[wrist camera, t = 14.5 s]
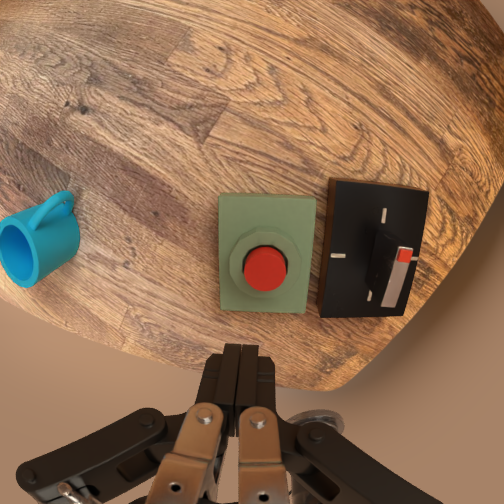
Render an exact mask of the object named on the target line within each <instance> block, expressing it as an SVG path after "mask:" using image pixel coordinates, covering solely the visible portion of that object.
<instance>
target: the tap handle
mask: <svg viewBox="0 0 504 504" xmlns="http://www.w3.org/2000/svg"><path fill="white" fill-rule="evenodd" d="M412 253H413V248H412V247H410V246H409V245H408V244H407V243H405V242H404V241H403V240H401V239H400V238H398V237H397V236H396V235H394V234H393V233H392V232H390V231H385V230H379V229H378V230H377V233H376V238H375V242H374V246H373V250H372V254H371V258H370V262H369V266H368V270H367V274H366V277H365V281H364V282H365V283H366V285H367V286H368V288H369V289H370V291H371V292H372V294H373V295H374V297H375V298H376V300H377V301H378V303H379V304H380V306H381V307H395V306H396V303H397V300H398V297H399V295H400V292H401V289H402V286H403V282H404V279H405V276H406V273H407V270H408V266H409V263H410V260H411V257H412Z"/></svg>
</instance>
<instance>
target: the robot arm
mask: <svg viewBox="0 0 504 504" xmlns="http://www.w3.org/2000/svg"><path fill="white" fill-rule="evenodd" d="M258 348H259V345H245V344H243V345H241V344H228V343H225V346H224V351H223V354H214V353H213V354H212V355H211V356H210V357H209V358H208V359H207V360H206V364H205V367H204V371H203V375H202V379H201V382H200V386H199V390H198V394H197V398H196V401H195V404H194V405H193V406H192V407H190V408H189V409H188V411H187V412H185V413H183V414H179V415H171V416H164V415H163V414H162V413H161V412H160V411H158V410H157V409H154V408H142V409H139V410H137V411H135V412H133V413H131V414H129V415H128V416H126V417H124V418H122V419H120V420H118V421H116V422H114V423H112V424H110V425H108V426H106V427H104V428H102V429H100V430H98V431H96V432H94V433H92V434H90V435H88V436H85V437H83V438H82V439H79V440H77V441H75V442H72V443H70V444H68V445H66V446H64V447H61V448H59V449H57V450H54V451H52V452H50V453H47V454H45V455H42V456H40V457H37V458H35V459H32V460H30V461H27V462H24V463H23V464H21V465H20V466H19V467H18V469H17V471H16V480H17V483H18V484H19V486H20V487H21V488H22V489H23V490H24V491H26V492H27V493H28V494H30V495H31V496H32V497H33V498H34V499H35V500H36V501H37V502H38V504H103V503H105V502H107V501H109V500H111V499H113V498H115V497H117V496H119V495H121V494H123V493H125V492H127V491H128V490H130V489H132V488H134V487H136V486H138V485H139V484H141V483H143V482H145V481H146V480H148V479H150V478H151V477H153V476H155V475H156V476H155V479H154V481H153V484H152V486H151V489H150V491H149V494H148V495H147V496H144V497H141V498H138V499H136V500H134V501H132V502H131V503H129V504H220V503H216V500H217V492H218V485H219V480H220V476H221V471H222V468H223V464H224V459H225V455H226V449H227V445H228V438H229V436H230V437H234V435H235V426H236V437H239V466H238V467H239V468H238V470H239V471H238V484H239V487H238V488H239V489H238V490H239V491H238V492H239V493H238V494H239V502H234V503H225V504H290V502H289V495H290V494H291V493H292V504H443V503H442V502H441V501H439V500H437V499H435V498H434V497H432V496H430V495H428V494H427V493H425V492H423V491H422V490H420V489H418V488H417V487H415V486H414V485H412V484H411V483H409V482H407V481H406V480H404V479H403V478H401V477H400V476H398V475H397V474H395V473H393V472H392V471H391V470H389V469H387V468H386V467H385V466H383V465H382V464H380V463H379V462H378V461H376V460H375V459H373V458H372V457H370V456H369V455H368V454H366V453H365V452H363V451H362V450H361V449H359V448H358V447H357V446H355V445H354V444H352V443H351V442H350V441H349V440H347V439H346V438H345V437H343V436H342V435H341V434H339V431H338V427H337V425H336V424H335V423H333V422H330V421H325V420H316V421H310V422H306V423H303V424H300V425H295V424H291V423H288V422H286V421H284V420H282V419H281V418H280V417H279V415H278V414H277V412H276V404H275V403H276V402H275V364H274V363H273V361H272V359H271V358H270V357H263V356H258ZM286 471H288V472H289V473H290V475H291V486H292V487H291V488H292V490H291V491H290V492H289V493H288V484H287V477H286Z"/></svg>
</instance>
